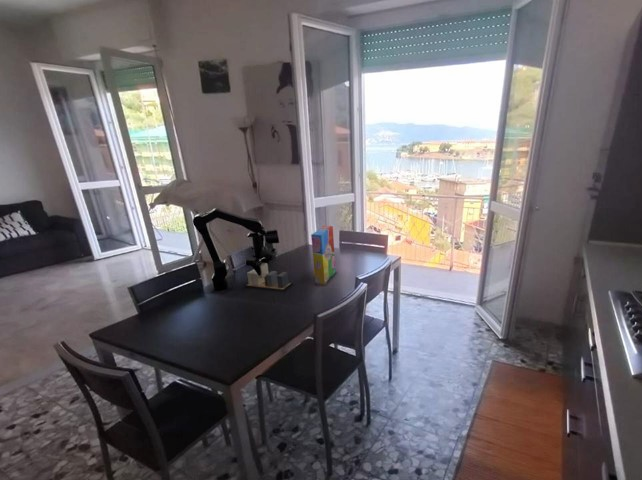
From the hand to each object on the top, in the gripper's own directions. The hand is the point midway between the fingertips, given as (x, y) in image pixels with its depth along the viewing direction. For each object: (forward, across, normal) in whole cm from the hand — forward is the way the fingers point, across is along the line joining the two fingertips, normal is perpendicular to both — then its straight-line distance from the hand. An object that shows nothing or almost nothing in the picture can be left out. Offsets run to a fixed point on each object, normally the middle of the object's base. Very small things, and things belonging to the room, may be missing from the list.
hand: (263, 273), depth 187 cm
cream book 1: (+6, 0, +6) cm, 9 cm away
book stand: (+7, 0, -3) cm, 7 cm away
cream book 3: (+6, 0, +3) cm, 7 cm away
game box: (+7, +18, -28) cm, 34 cm away
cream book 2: (+2, 0, 0) cm, 2 cm away
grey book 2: (+6, 0, -12) cm, 13 cm away
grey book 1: (+6, 0, -5) cm, 8 cm away
